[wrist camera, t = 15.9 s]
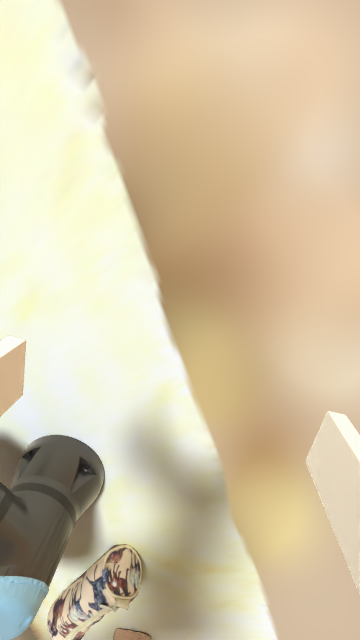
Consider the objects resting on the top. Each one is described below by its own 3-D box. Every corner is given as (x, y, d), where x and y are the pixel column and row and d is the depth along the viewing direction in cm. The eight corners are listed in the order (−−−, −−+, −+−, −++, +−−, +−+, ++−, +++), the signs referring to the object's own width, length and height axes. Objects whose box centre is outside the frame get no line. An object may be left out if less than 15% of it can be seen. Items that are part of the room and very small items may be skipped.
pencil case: (114, 532, 61) (97, 589, 51) (148, 555, 62) (138, 614, 53) (57, 585, 67) (33, 644, 58) (89, 605, 68) (71, 665, 59)
